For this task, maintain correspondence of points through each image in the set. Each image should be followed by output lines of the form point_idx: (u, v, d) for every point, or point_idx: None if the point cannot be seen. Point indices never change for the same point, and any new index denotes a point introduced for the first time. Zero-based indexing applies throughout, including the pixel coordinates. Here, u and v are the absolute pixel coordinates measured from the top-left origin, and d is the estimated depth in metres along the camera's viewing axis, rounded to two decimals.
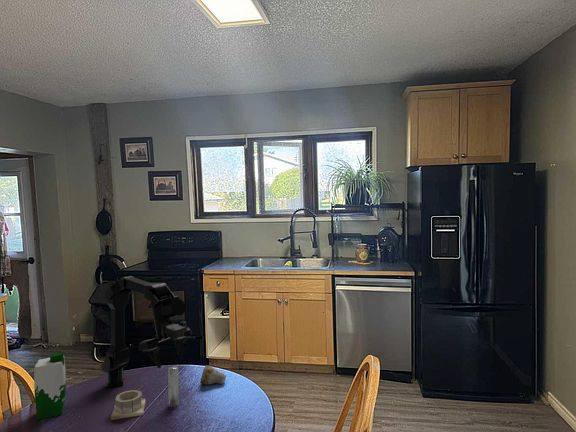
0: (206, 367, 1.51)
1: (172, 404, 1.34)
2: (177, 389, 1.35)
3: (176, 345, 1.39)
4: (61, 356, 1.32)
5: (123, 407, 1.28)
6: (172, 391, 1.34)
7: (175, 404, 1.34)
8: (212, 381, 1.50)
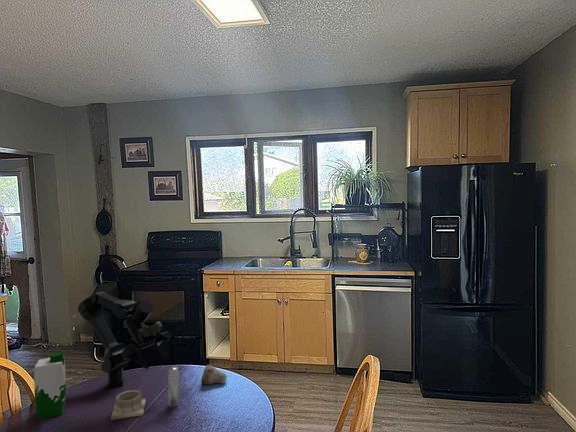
0: (207, 367, 1.51)
1: (172, 404, 1.34)
2: (177, 389, 1.35)
3: (160, 350, 1.46)
4: (61, 356, 1.32)
5: (123, 407, 1.28)
6: (172, 391, 1.34)
7: (175, 404, 1.34)
8: (213, 381, 1.50)
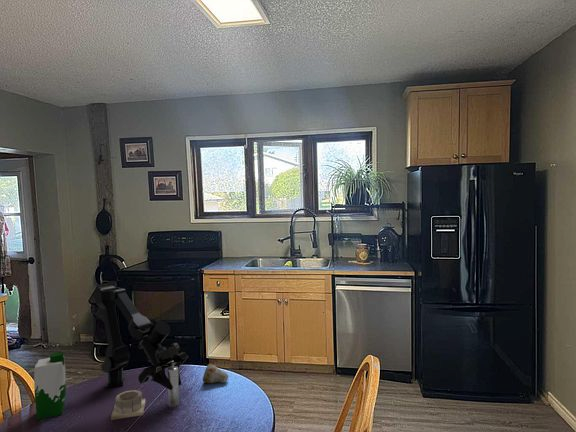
0: (208, 366, 1.52)
1: (172, 404, 1.34)
2: (177, 389, 1.35)
3: None
4: (61, 356, 1.32)
5: (123, 407, 1.28)
6: (172, 391, 1.34)
7: (175, 404, 1.34)
8: (214, 380, 1.51)
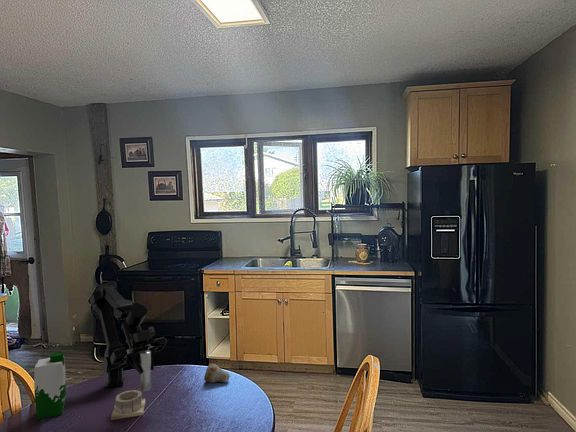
0: (210, 365, 1.53)
1: (142, 388, 1.31)
2: (148, 374, 1.32)
3: None
4: (61, 356, 1.32)
5: (123, 407, 1.28)
6: (142, 375, 1.31)
7: (145, 389, 1.31)
8: (215, 379, 1.51)
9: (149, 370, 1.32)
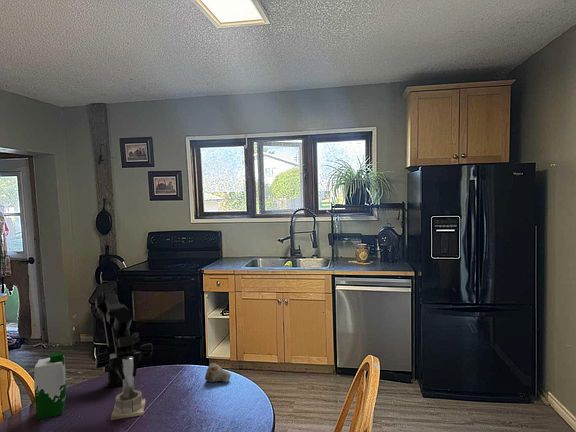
0: (211, 365, 1.53)
1: (124, 394, 1.31)
2: (130, 380, 1.31)
3: None
4: (61, 356, 1.32)
5: (123, 407, 1.28)
6: (124, 381, 1.31)
7: (126, 395, 1.31)
8: (216, 379, 1.51)
9: (131, 376, 1.31)
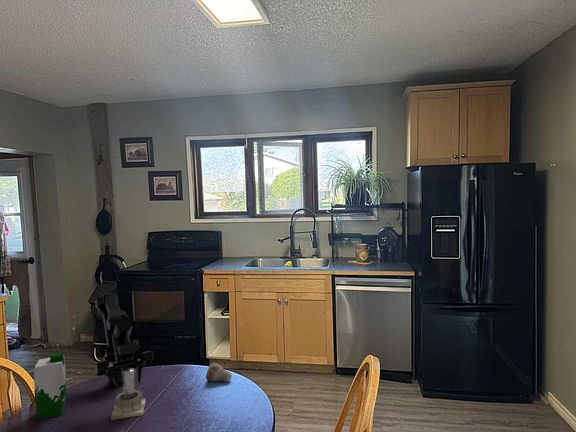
0: (212, 364, 1.54)
1: None
2: (130, 392, 1.31)
3: (137, 371, 1.37)
4: (61, 356, 1.32)
5: (123, 407, 1.28)
6: (124, 393, 1.31)
7: None
8: (217, 378, 1.52)
9: (131, 388, 1.31)
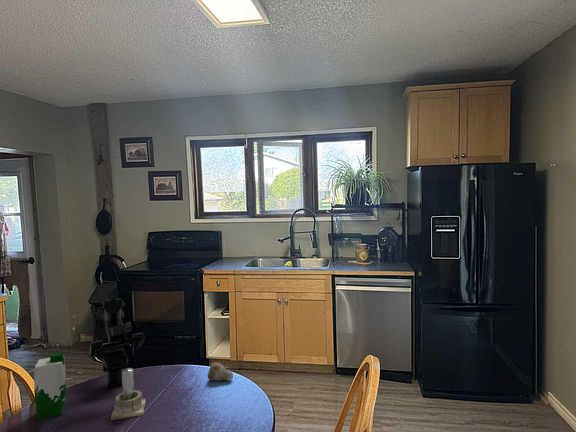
0: (213, 363, 1.54)
1: None
2: (130, 392, 1.31)
3: (132, 351, 1.45)
4: (61, 356, 1.32)
5: (123, 407, 1.28)
6: (124, 393, 1.31)
7: None
8: (218, 378, 1.52)
9: (131, 388, 1.31)
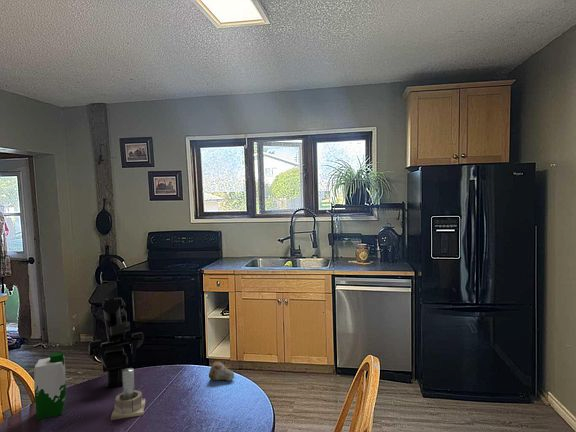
0: (215, 363, 1.55)
1: None
2: (130, 392, 1.31)
3: (131, 350, 1.45)
4: (61, 356, 1.32)
5: (123, 407, 1.28)
6: (124, 393, 1.31)
7: None
8: (219, 377, 1.53)
9: (131, 388, 1.31)
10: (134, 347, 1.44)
